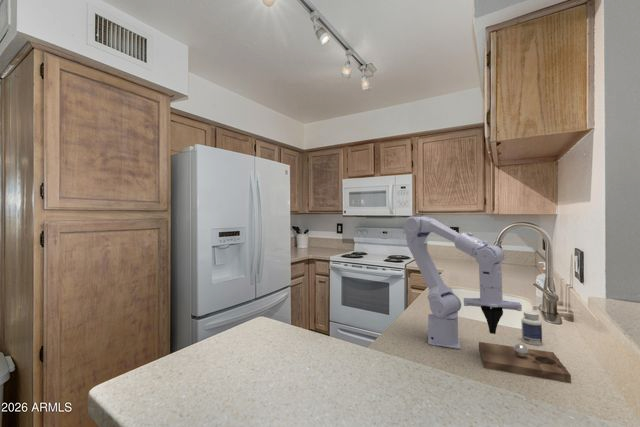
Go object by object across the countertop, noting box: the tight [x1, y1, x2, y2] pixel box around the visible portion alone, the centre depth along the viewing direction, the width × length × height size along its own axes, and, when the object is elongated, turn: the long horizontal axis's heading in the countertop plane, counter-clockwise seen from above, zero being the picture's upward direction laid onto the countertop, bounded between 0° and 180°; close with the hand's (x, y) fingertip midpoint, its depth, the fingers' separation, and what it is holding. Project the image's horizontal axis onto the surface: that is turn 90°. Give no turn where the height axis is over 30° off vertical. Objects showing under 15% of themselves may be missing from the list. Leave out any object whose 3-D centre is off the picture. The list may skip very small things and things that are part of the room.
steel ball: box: [513, 343, 529, 357], centre depth 80 cm, size 4×4×4 cm
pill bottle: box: [521, 310, 543, 346], centre depth 94 cm, size 5×5×10 cm
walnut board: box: [478, 341, 572, 384], centre depth 80 cm, size 19×13×2 cm
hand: (492, 332), depth 83 cm, fingers closed
